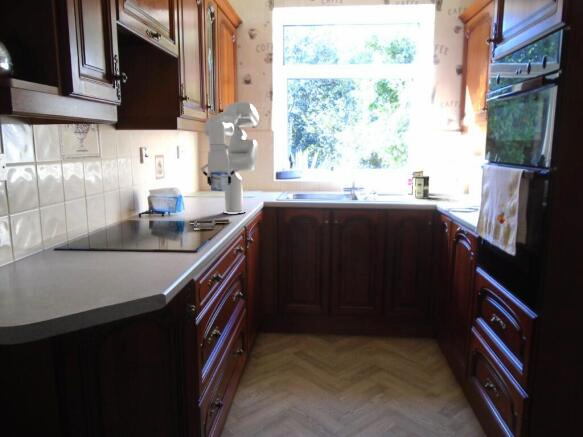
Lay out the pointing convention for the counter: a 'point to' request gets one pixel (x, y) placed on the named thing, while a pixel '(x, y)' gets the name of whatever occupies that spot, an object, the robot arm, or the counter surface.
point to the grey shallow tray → (204, 225)
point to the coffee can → (420, 186)
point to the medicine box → (219, 181)
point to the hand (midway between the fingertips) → (219, 184)
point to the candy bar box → (410, 179)
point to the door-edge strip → (215, 220)
